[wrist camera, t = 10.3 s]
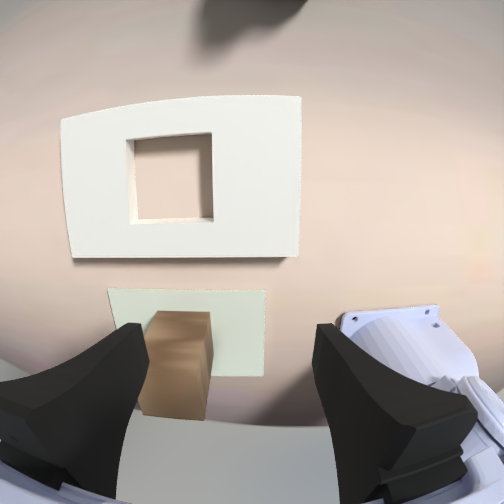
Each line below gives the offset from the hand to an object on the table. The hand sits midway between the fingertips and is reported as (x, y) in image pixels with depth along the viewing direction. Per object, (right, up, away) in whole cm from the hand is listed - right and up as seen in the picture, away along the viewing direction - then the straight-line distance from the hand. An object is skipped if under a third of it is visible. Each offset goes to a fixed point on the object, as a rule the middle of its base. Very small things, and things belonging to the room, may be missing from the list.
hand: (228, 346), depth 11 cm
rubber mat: (-4, -3, +11) cm, 12 cm away
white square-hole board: (-4, +9, +7) cm, 12 cm away
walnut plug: (-4, -3, +10) cm, 11 cm away
